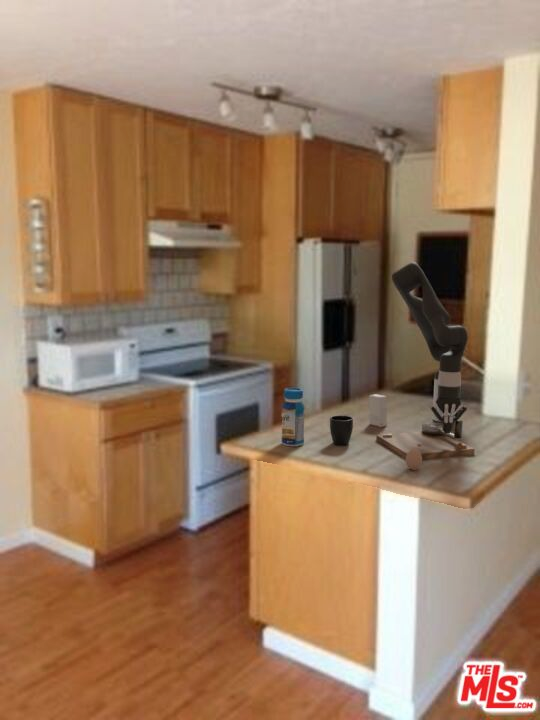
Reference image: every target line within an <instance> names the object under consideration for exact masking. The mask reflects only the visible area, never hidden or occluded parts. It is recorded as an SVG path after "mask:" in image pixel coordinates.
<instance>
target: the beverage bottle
mask: <svg viewBox="0 0 540 720" xmlns="http://www.w3.org/2000/svg"><path fill="white" fill-rule="evenodd" d="M303 396H304V390H303V388H300V387H287V388H284V390H283V398H284V402H283V403H282V405H281V410H282V411H281V415H280V416H281V444H282V445H284V446H286V447H300V446H303V445H304V443H305V418H306V413H305V403H304V402H303V401H302V400H303V398H304V397H303Z"/></svg>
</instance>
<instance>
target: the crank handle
mask: <svg viewBox="0 0 540 720" xmlns="http://www.w3.org/2000/svg"><path fill="white" fill-rule="evenodd" d="M453 426H454V427H453V428H454V432H450V433H445V432H444V431H443V429H442V428H443V423H442V422H425V423H421V431H422V433H424V434H428V435H446V436H448V437H450V438H452V439H454V440H458V441H459V440H461V439H462V437H463V420H462V419H458V420H457V421H454V425H453Z"/></svg>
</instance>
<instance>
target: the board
mask: <svg viewBox="0 0 540 720" xmlns="http://www.w3.org/2000/svg"><path fill="white" fill-rule="evenodd" d="M375 437H376V438H375V440H376V441H377V442H378V443H380V444H382V445H383V446H384V447H387V448H388V449H390V450H392V452H394V453H396V454H397V455H399V456H401V457H402V458H403V459H405V460H406V456H407V454H408V452H409V451H410V450H412V449H416V450H418V451H419V452H420V454H421V456H422V460H427V459H428V460H429V459H438V458H449V457H459V456H460V457H461V456H471V455H473V456H474V455H475V450H476V449H475V448H474V447H472V446H470V445H468V444H466V443H464V442H462V441H459V440H454V439H452V438H450V437H448V436H446V435H428V434H424V433H422V430H421V431H410V432H397V433H396V432H395V433H383V434H376V435H375Z"/></svg>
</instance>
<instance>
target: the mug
mask: <svg viewBox="0 0 540 720" xmlns="http://www.w3.org/2000/svg"><path fill="white" fill-rule="evenodd" d="M353 428H354V418H353V417H352V416H350V415H349V416H348V415H347V414H346V415H341V414H340V415H337V414H336V415H332V416H330V418H329V431H330V436H331V440H332V443H333V445H334V446H341V447H342V446H343V447H344V446H348V445H349V444H350V440H351V437H352V434H353Z"/></svg>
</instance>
